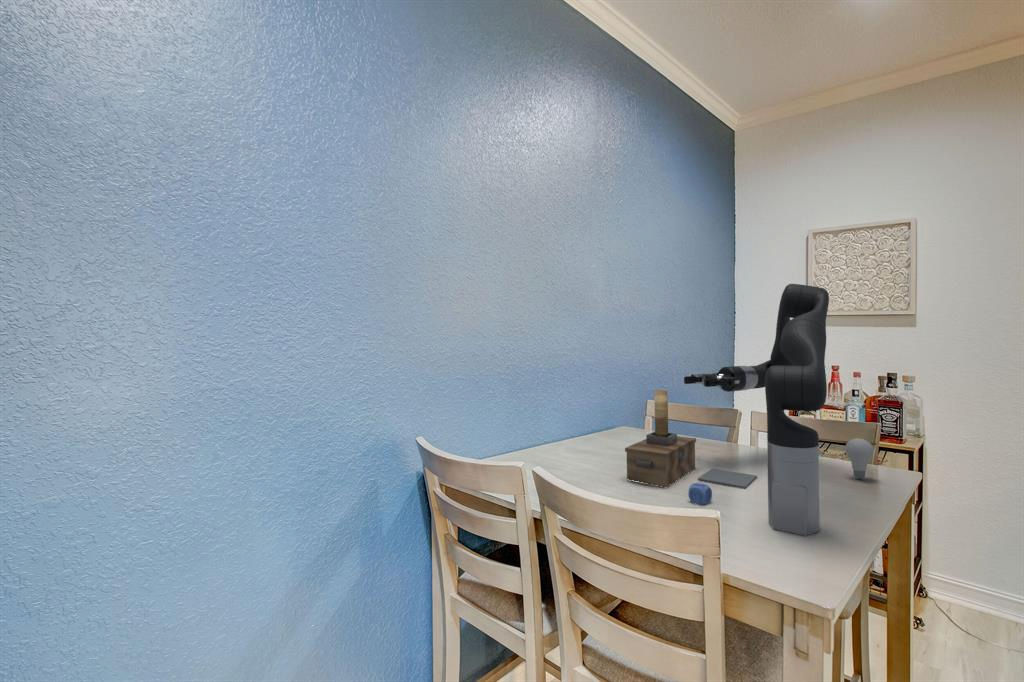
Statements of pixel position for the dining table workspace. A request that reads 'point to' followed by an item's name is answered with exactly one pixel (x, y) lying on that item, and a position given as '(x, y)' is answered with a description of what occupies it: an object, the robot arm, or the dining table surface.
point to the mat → (728, 478)
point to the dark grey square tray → (661, 439)
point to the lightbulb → (859, 455)
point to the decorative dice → (700, 493)
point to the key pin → (661, 412)
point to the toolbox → (660, 461)
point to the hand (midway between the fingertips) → (694, 381)
